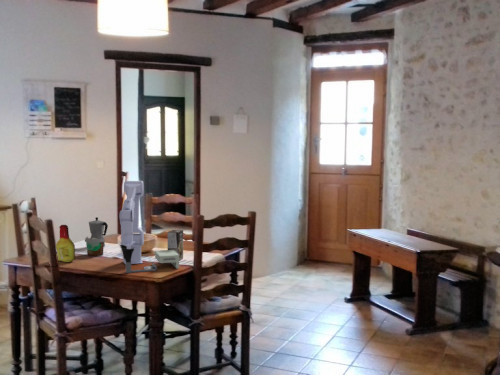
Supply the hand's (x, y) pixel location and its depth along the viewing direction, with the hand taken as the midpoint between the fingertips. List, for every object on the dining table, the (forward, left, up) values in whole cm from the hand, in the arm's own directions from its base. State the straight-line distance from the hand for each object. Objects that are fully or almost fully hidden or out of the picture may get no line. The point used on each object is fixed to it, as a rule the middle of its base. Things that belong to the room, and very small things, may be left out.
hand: (127, 260), depth 283 cm
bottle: (-29, +34, -6) cm, 45 cm away
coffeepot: (-9, +69, -6) cm, 70 cm away
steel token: (+12, +5, -7) cm, 14 cm away
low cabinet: (+21, +8, -6) cm, 24 cm away
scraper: (+7, +4, -6) cm, 10 cm away
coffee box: (+29, +21, -6) cm, 36 cm away
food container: (-14, +45, -6) cm, 47 cm away
